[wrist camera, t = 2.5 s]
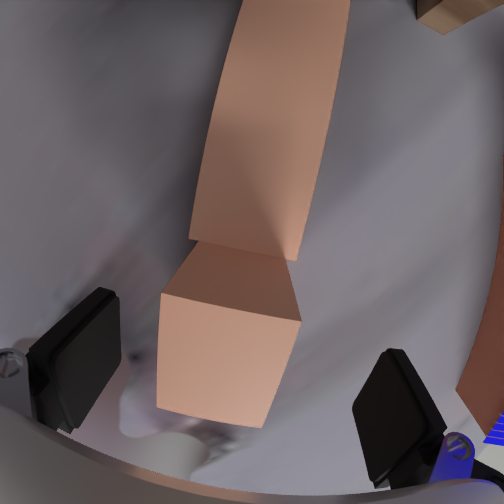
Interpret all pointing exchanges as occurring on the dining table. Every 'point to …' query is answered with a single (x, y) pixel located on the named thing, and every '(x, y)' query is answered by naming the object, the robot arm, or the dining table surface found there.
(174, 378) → the tan stepped beam
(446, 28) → the cabinet
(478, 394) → the house
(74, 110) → the dining table surface
